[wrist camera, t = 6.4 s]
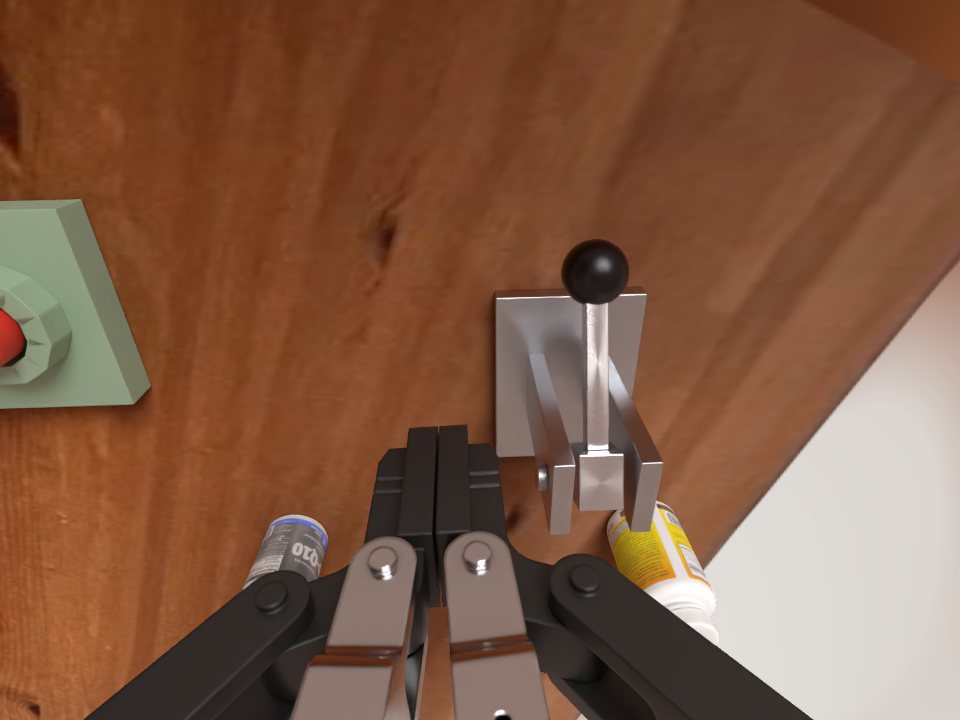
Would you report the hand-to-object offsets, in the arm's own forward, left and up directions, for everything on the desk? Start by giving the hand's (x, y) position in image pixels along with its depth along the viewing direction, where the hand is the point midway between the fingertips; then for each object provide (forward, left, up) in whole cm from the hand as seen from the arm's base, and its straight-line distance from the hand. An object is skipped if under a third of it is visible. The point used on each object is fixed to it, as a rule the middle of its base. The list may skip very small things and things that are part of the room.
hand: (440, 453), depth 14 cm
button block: (+3, -25, -19) cm, 32 cm away
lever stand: (+9, +7, -19) cm, 23 cm away
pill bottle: (+23, -13, -20) cm, 33 cm away
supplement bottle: (+23, +14, -20) cm, 33 cm away
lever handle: (+5, +7, -13) cm, 16 cm away
